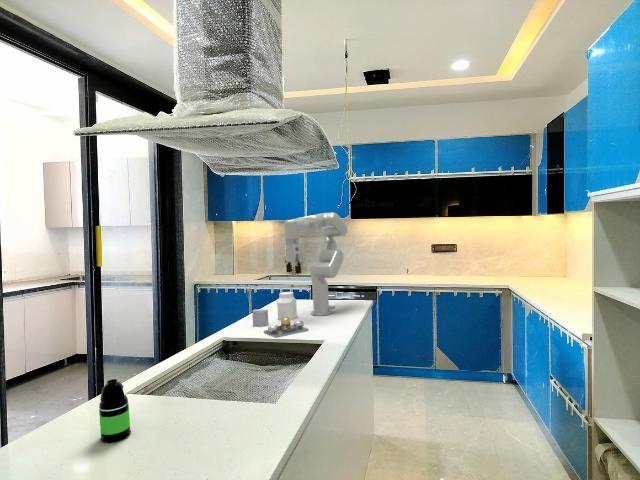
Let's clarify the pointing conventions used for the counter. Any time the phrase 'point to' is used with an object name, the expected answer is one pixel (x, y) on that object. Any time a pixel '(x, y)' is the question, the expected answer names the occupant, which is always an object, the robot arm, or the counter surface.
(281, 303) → the jar
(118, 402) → the bottle
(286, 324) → the cylinder
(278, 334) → the shaft bench
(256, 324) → the medicine box
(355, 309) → the counter surface
